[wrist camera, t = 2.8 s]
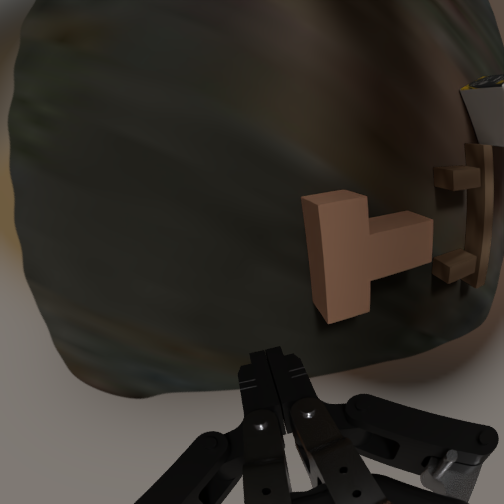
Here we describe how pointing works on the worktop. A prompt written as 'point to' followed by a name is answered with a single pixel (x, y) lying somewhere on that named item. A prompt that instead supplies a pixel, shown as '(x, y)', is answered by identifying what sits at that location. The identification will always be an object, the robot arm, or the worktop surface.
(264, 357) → the robot arm
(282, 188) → the worktop surface
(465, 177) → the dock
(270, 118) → the worktop surface
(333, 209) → the T block
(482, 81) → the medicine bottle
